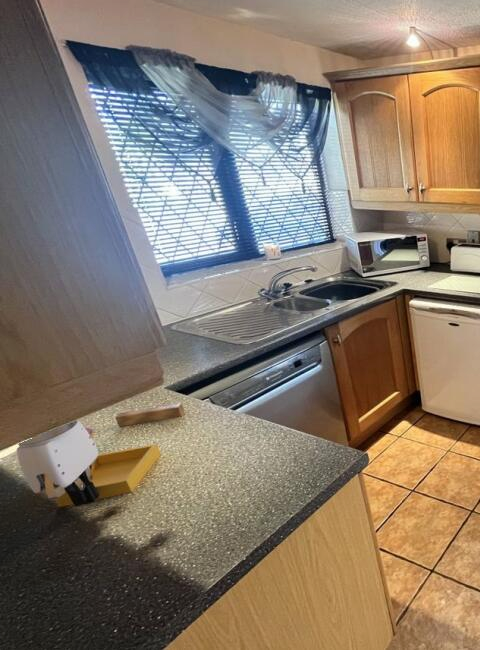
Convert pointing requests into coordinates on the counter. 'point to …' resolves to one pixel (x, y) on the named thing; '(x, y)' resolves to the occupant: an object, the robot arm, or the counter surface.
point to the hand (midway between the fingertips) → (87, 501)
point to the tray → (119, 471)
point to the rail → (149, 414)
